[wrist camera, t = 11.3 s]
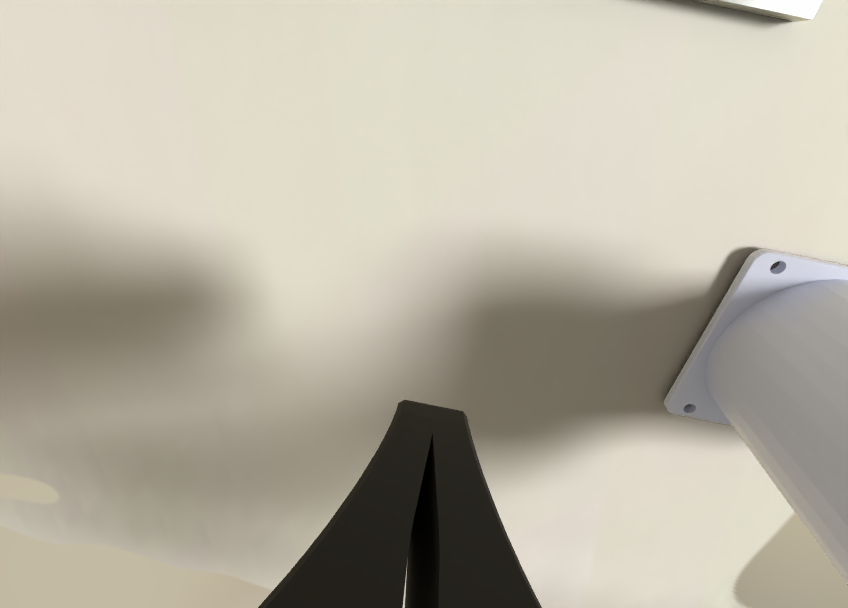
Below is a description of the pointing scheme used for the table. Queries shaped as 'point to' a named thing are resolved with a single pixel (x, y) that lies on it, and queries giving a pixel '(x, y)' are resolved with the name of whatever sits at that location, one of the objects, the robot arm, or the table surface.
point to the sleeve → (773, 7)
